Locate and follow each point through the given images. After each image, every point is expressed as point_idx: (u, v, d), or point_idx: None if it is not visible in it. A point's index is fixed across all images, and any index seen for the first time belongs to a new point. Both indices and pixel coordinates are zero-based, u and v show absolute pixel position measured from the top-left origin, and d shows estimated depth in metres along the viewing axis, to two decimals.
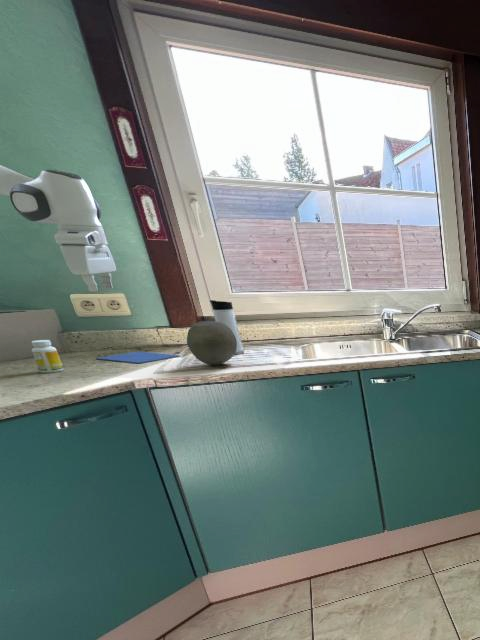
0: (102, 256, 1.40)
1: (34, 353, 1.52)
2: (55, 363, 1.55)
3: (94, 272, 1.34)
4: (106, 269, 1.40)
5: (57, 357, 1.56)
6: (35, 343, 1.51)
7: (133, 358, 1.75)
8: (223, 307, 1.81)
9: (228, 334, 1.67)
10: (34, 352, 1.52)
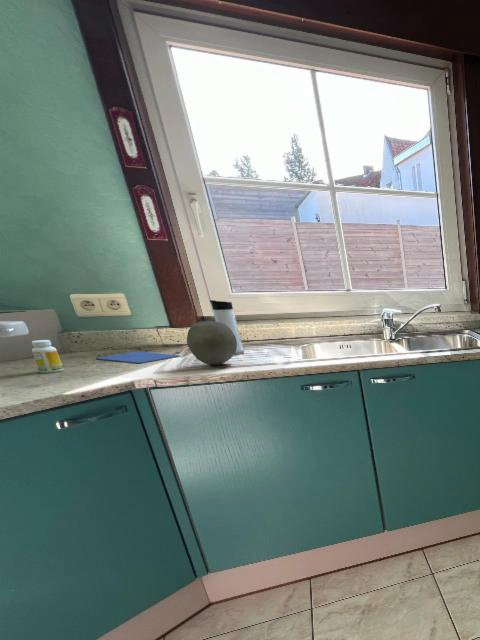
0: None
1: (34, 353, 1.52)
2: (55, 363, 1.55)
3: None
4: None
5: (57, 357, 1.56)
6: (35, 343, 1.51)
7: (133, 358, 1.75)
8: (223, 307, 1.81)
9: (228, 334, 1.67)
10: (34, 352, 1.52)
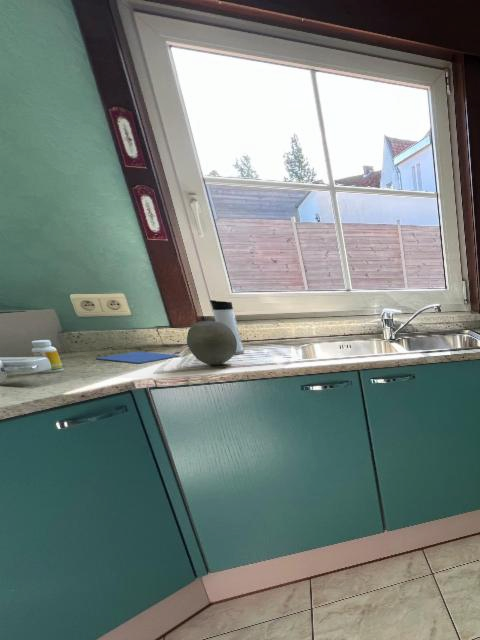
0: None
1: (34, 353, 1.52)
2: (55, 363, 1.55)
3: None
4: None
5: (57, 357, 1.56)
6: (35, 343, 1.51)
7: (133, 358, 1.75)
8: (223, 307, 1.81)
9: (228, 334, 1.67)
10: (34, 352, 1.52)
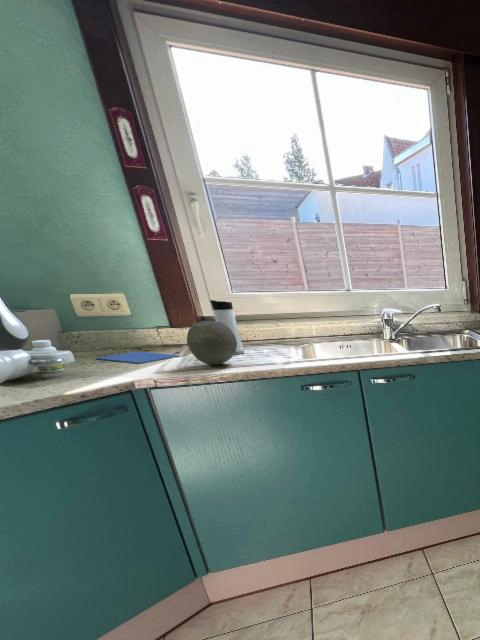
0: None
1: None
2: None
3: None
4: None
5: None
6: (35, 343, 1.51)
7: (133, 358, 1.75)
8: (223, 307, 1.81)
9: (228, 334, 1.67)
10: None
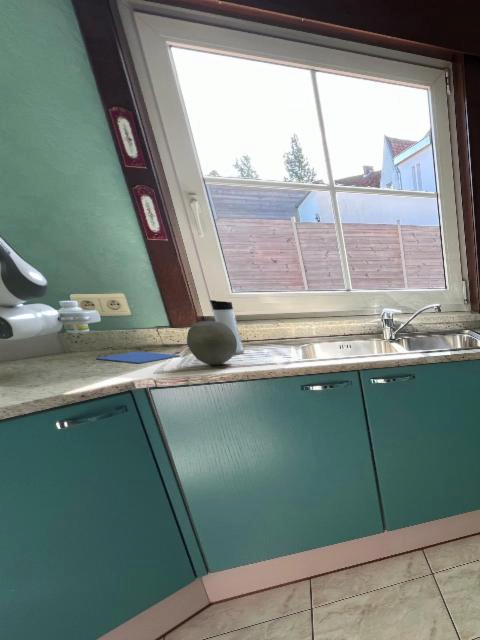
0: None
1: None
2: None
3: None
4: None
5: None
6: (63, 303, 1.55)
7: (133, 358, 1.75)
8: (223, 307, 1.81)
9: (228, 334, 1.67)
10: None
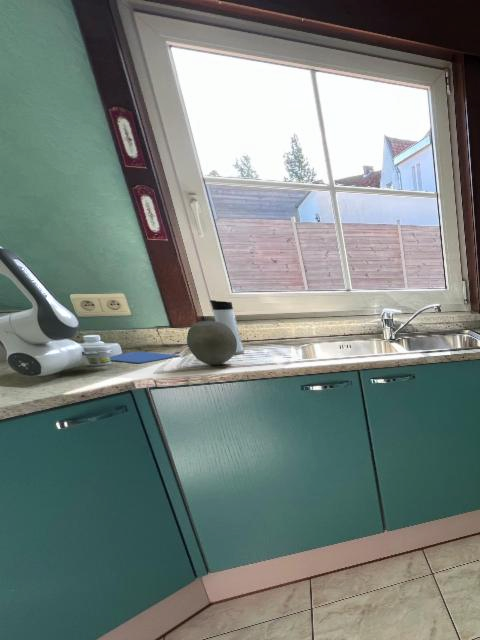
0: None
1: None
2: (104, 357, 1.65)
3: None
4: None
5: None
6: (86, 338, 1.62)
7: (133, 358, 1.75)
8: (223, 307, 1.81)
9: (228, 334, 1.67)
10: None
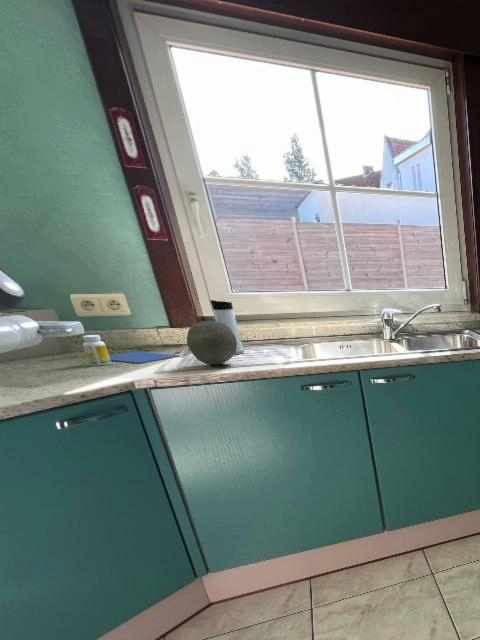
0: None
1: (85, 347, 1.62)
2: (104, 357, 1.65)
3: None
4: None
5: (106, 351, 1.66)
6: (86, 338, 1.62)
7: (133, 358, 1.75)
8: (223, 307, 1.81)
9: (228, 334, 1.67)
10: (85, 346, 1.62)
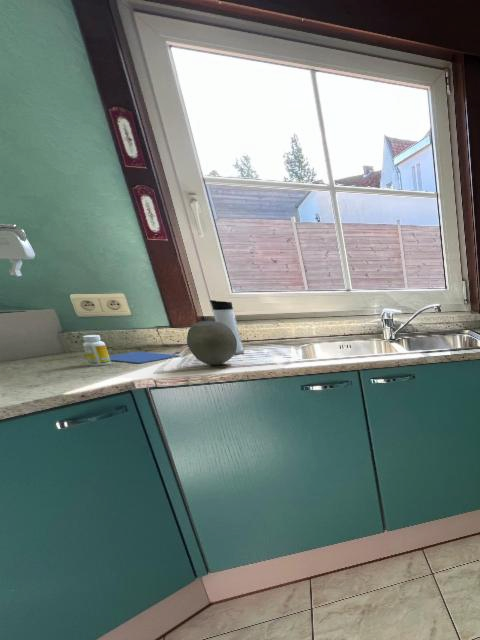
0: None
1: (85, 347, 1.62)
2: (104, 357, 1.65)
3: None
4: None
5: (106, 351, 1.66)
6: (86, 338, 1.62)
7: (133, 358, 1.75)
8: (223, 307, 1.81)
9: (228, 334, 1.67)
10: (85, 346, 1.62)
